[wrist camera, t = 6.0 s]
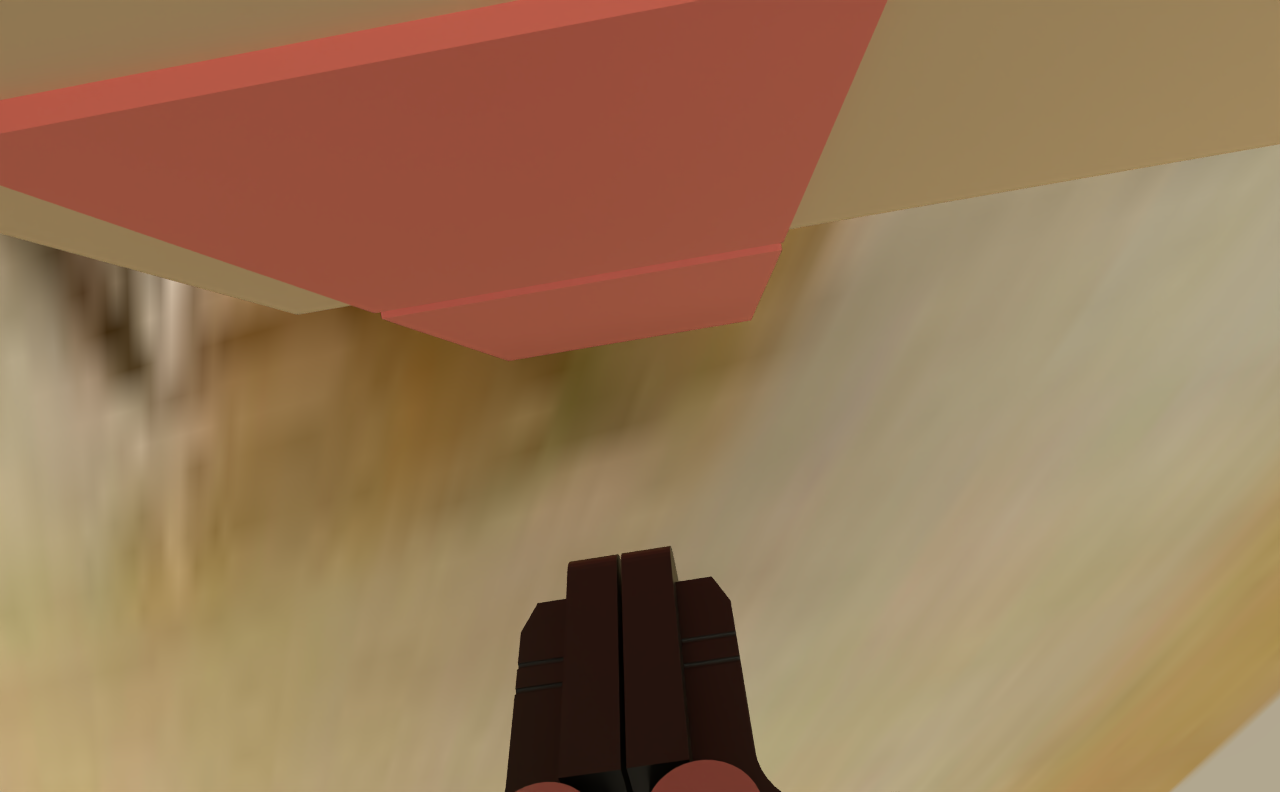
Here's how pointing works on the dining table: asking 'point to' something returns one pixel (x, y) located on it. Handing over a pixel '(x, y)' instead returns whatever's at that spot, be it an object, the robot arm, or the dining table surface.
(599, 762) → the robot arm
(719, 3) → the flap
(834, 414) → the dining table surface
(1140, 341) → the dining table surface
